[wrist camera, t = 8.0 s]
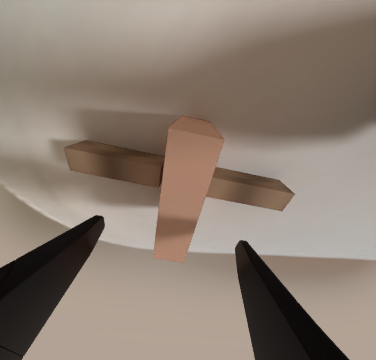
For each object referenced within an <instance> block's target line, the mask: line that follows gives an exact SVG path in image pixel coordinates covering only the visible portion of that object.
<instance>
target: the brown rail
mask: <svg viewBox="0 0 376 360" xmlns="http://www.w3.org/2000/svg"><path fill="white" fill-rule="evenodd" d="M64 149H65V153H66V157H67V161H68V164H69V168H70V170H71V171H76V172H81V173H86V174H91V175H97V176H102V177H107V178H112V179H117V180H123V181H128V182H133V183H138V184H143V185H148V186H154V187H159V186H160V183H161V181H162V178H163V169H164V161H165V157H164V156H159V155H154V154H150V153H145V152H140V151H135V150H130V149H125V148H121V147H116V146H111V145H106V144H101V143H96V142H91V141H87V140H85V141H83V142H80V143H77V144H74V145H71V146H68V147H65V148H64ZM294 195H295V194H294V193H293V192H292V191H291V190H290V189H289V188H288V187H286V186H285V185H284V184H283V183H282V182H281V181H280V180H276V179H271V178H266V177H261V176H256V175H251V174H247V173H242V172H237V171H232V170H227V169H222V168H218V167H215V170H214V173H213V176H212V179H211V182H210V185H209V188H208V191H207V194H206V197H211V198H216V199H221V200H226V201H232V202H237V203H242V204H247V205H252V206H258V207H263V208H268V209H273V210H278V211H283V209H284V208H285V207H286V205H287V204H288V203H289V201H290V200H291V199H292V197H293V196H294Z"/></svg>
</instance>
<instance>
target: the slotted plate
mask: <svg viewBox="0 0 376 360" xmlns="http://www.w3.org/2000/svg"><path fill="white" fill-rule="evenodd" d="M223 143H224V139H223V138H222V136H221V135H220V134H219V133H218V131H217V130H216V129H215V128H214V126H213V125H212V124H211V123H210V122H207V121H203V120H199V119H194V118H190V117H185V116H181V117H180V118H179V119H178V120H177V121H176V122H174V123H173V124H172V125H171V126H170V127H169V128H168V136H167V144H166V152H165V161H164V169H163V178H162V186H161V194H160V203H159V211H158V219H157V228H156V236H155V245H154V253H153V258H156V259H162V260H168V261H174V262H180V263H184V260H185V257H186V254H187V251H188V248H189V245H190V242H191V239H192V236H193V233H194V230H195V227H196V224H197V221H198V218H199V215H200V212H201V209H202V206H203V203H204V200H205V197H206V194H207V191H208V188H209V185H210V182H211V179H212V176H213V173H214V170H215V167H216V164H217V161H218V158H219V155H220V152H221V149H222V146H223Z"/></svg>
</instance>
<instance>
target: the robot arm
mask: <svg viewBox="0 0 376 360" xmlns="http://www.w3.org/2000/svg"><path fill="white" fill-rule="evenodd" d="M104 227H105V223H104V217H103V216H99V215H96V216H94V217H92V218H90V219H88V220H86V221H84V222H83V223H81V224H79V225H77V226H75V227H74V228H72V229H70V230H68V231H66V232H65V233H63V234H61V235H59V236H57V237H56V238H54V239H52V240H50V241H48V242H47V243H45V244H43V245H41V246H39V247H37V248H36V249H34V250H32V251H30V252H28V253H27V254H25V255H23V256H21V257H19V258H18V259H16V260H14V261H12V262H10V263H9V264H7V265H5V266H3V267H1V268H0V360H22V358H23V356H24V355H25V353H26V352H27V351H28V349H29V347H30V346H31V344H32V343H33V341H34V340H35V338H36V337H37V335H38V334H39V332H40V331H41V329H42V327H43V326H44V325H45V323H46V321H47V320H48V318H49V317H50V315H51V314H52V312H53V311H54V309H55V308H56V306H57V305H58V303H59V301H60V300H61V298H62V297H63V295H64V294H65V292H66V291H67V289H68V288H69V286H70V285H71V283H72V282H73V280H74V278H75V277H76V275H77V274H78V272H79V271H80V269H81V268H82V266H83V265H84V263H85V262H86V260H87V259H88V257H89V256H90V254H91V252H92V250H93V249H94V247H95V245H96V243H97V241H98V239H99V237H100V235H101V233H102V231H103V229H104ZM235 255H236V264H237V273H238V279H239V284H240V289H241V293H242V298H243V303H244V308H245V313H246V317H247V322H248V327H249V332H250V337H251V342H252V347H253V352H254V357H255V360H349V359H348V358H347V356H346V355H345V354H344V353H343V352H342V351H341V350H340V349H339V348H338V347H337V346H336V345H335V344H334V342H333V341H332V340H331V339H330V338H329V337H328V336H327V335H326V334H325V333H324V332H323V331H322V329H321V328H320V327H319V326H318V325H317V324H316V323H315V322H314V320H313V319H312V318H311V317H310V316H309V315H308V314H307V312H306V311H305V310H304V309H303V308H302V306H301V305H300V304H299V303H298V302H297V301H296V299H295V298H294V297H293V296H292V295H291V293H290V292H289V291H288V290H287V289H286V287H285V286H284V285H283V284H282V283H281V282H280V280H279V279H278V278H277V277H276V276H275V274H274V273H273V272H272V271H271V270H270V268H269V267H268V266H267V265H266V264H265V262H264V261H263V260H262V259H261V258H260V257H259V255H258V254H257V253H256V252H255V251H254V249H253V248H252V247H251V246H250V245H249V243H248V242H247V241H243V240H240V241H239V242H238V244H237V246H236V248H235Z"/></svg>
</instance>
